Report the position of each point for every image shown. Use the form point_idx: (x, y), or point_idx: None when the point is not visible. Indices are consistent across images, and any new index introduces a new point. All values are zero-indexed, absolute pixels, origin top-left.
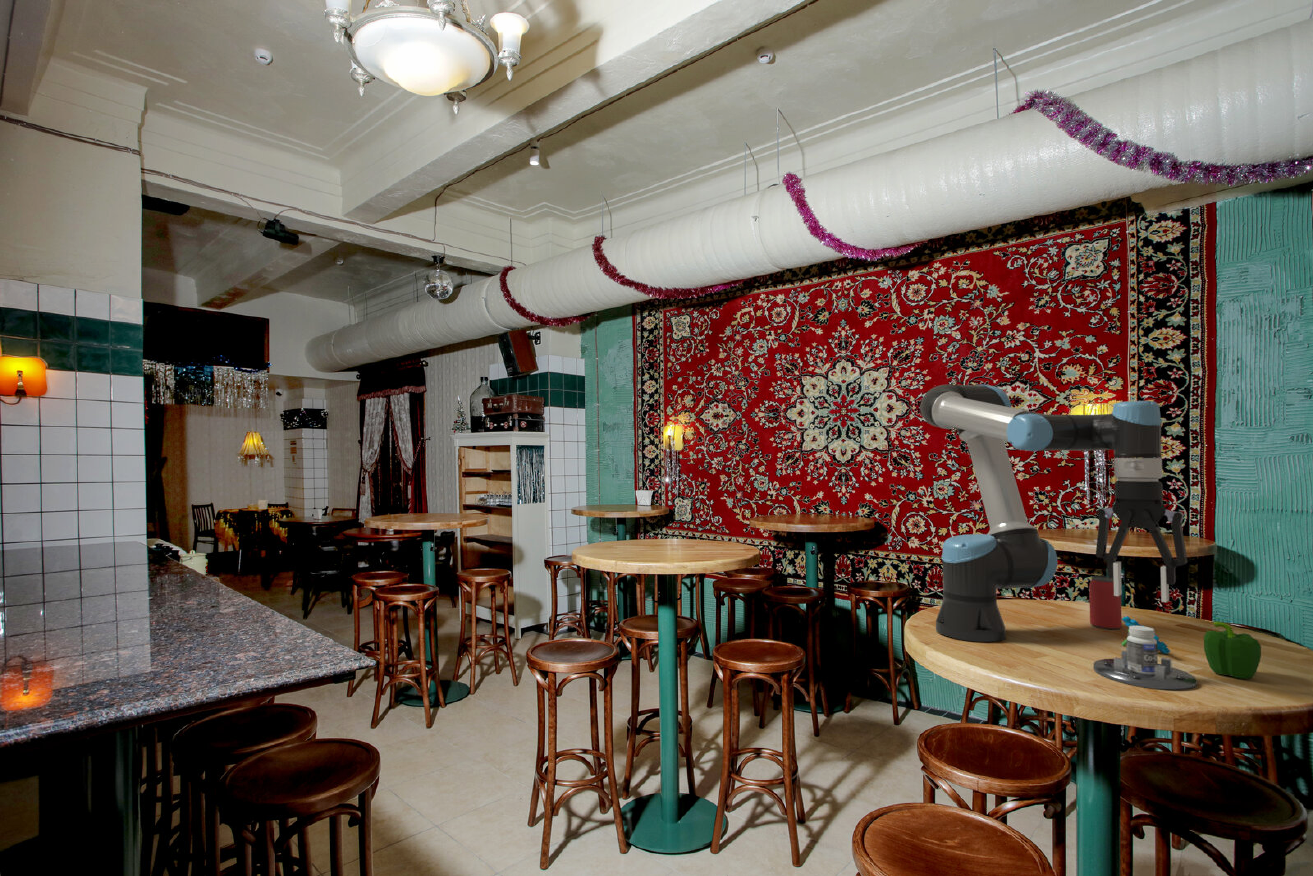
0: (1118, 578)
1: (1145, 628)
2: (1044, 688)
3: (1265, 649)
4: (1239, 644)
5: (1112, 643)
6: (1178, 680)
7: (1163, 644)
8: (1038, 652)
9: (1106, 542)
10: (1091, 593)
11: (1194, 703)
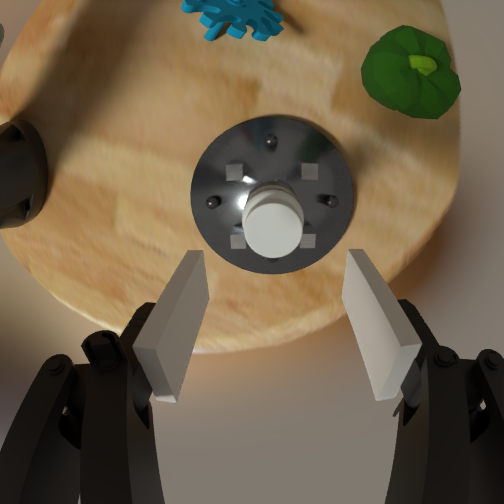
0: (193, 339)
1: (282, 231)
2: (192, 352)
3: None
4: (438, 117)
5: (172, 7)
6: (329, 216)
7: (277, 32)
8: (102, 188)
9: (47, 442)
10: None
11: None
